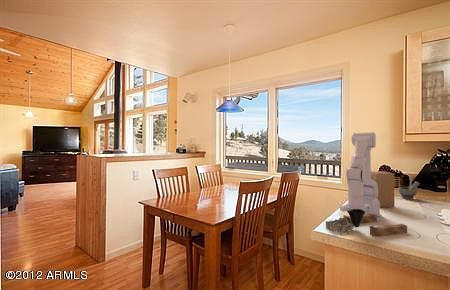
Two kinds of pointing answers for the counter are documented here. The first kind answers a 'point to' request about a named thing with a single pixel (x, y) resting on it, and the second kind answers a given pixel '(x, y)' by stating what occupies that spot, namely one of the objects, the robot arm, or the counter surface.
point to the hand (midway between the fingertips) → (355, 226)
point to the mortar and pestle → (409, 191)
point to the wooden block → (384, 187)
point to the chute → (382, 229)
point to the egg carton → (339, 225)
